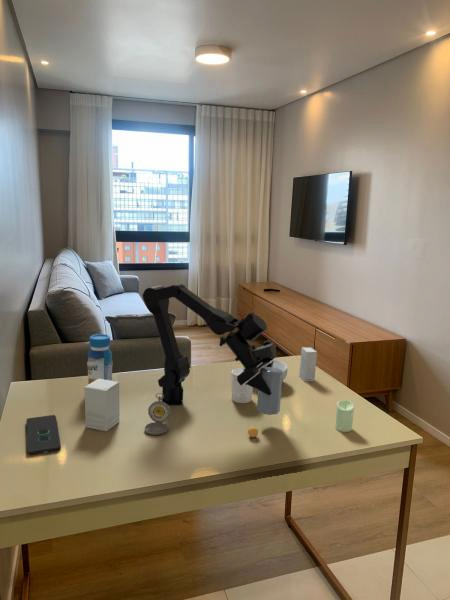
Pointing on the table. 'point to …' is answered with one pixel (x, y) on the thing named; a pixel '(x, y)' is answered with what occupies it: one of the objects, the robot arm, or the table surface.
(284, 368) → the cereal bowl
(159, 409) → the pocket watch
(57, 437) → the smart home device
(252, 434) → the amber ball
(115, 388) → the supplement box
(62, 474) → the table surface
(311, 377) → the skincare box
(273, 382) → the grey faceted canister
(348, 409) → the candle
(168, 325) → the robot arm
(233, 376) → the white cup
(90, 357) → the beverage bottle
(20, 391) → the table surface
